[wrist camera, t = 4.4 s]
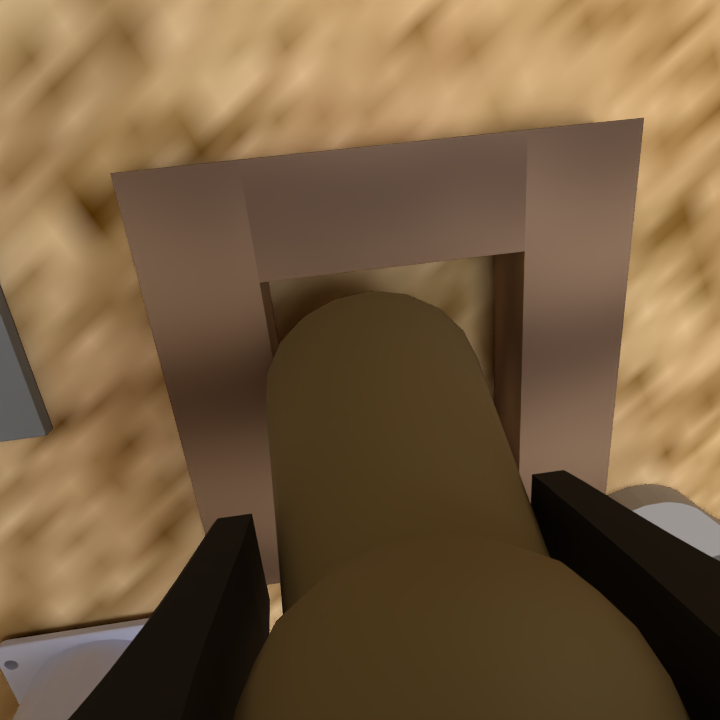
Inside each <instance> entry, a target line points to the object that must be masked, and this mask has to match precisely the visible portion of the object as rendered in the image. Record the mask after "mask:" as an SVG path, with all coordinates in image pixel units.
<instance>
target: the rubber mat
mask: <svg viewBox="0 0 720 720" xmlns="http://www.w3.org/2000/svg"><path fill="white" fill-rule="evenodd" d="M52 429H53V428H52V425H51V423H50V420H49V417H48V414H47V412H46V409H45V406H44V404H43V401H42V398H41V395H40V393H39V390H38V387H37V385H36V382H35V379H34V376H33V374H32V371H31V368H30V365H29V363H28V360H27V357H26V355H25V352H24V349H23V346H22V344H21V341H20V338H19V336H18V333H17V330H16V327H15V325H14V322H13V319H12V317H11V314H10V311H9V308H8V306H7V303H6V300H5V298H4V295H3V292H2V289H1V287H0V442H2V441H9V440H17V439H24V438H32V437H40V436H46V435H47V434H48V433H49V432H50V431H51V430H52Z"/></svg>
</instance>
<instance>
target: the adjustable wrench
mask: <svg viewBox="0 0 720 720" xmlns="http://www.w3.org/2000/svg"><path fill="white" fill-rule="evenodd" d="M609 497H610V498H612V499H614V500H615V501H617V502H619V503H620V504H622V505H623V506H625V507H627V508H628V509H630V510H632V511H633V512H635V513H637V514H638V515H640V516H642V517H643V518H645V519H647V520H648V521H650V522H652V523H653V524H655V525H657V526H658V527H660V528H662V529H663V530H665V531H667V532H669V533H670V534H672V535H674V536H675V537H677V538H679V539H681V540H682V541H684V542H686V543H688V544H689V545H691V546H693V547H695V548H697V549H698V550H700V551H702V552H704V553H705V554H707V555H709V556H711V557H713V558H715V559H717V560H719V561H720V520H719V519H717V518H715V517H713V516H712V515H710V514H709V513H707V512H705V511H704V510H702V509H701V508H700V507H698V506H697V505H696V504H694V503H693V502H692V501H690V500H689V499H688V498H686V497H685V496H684V495H682V494H681V493H680V492H678V491H677V490H674V489H672V488H669V487H665V486H661V485H654V484H645V485H639V486H633V487H628V488H625V489H622V490H620V491H617V492H614V493H612V494H610V495H609Z"/></svg>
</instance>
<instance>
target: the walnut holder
mask: <svg viewBox="0 0 720 720" xmlns="http://www.w3.org/2000/svg"><path fill="white" fill-rule="evenodd" d="M643 123H644V118H637V119H627V120H617V121H607V122H598V123H588V124H578V125H569V126H559V127H550V128H540V129H530V130H521V131H511V132H501V133H492V134H482V135H473V136H463V137H453V138H444V139H434V140H424V141H415V142H405V143H396V144H386V145H376V146H367V147H357V148H348V149H338V150H328V151H319V152H309V153H299V154H290V155H280V156H271V157H261V158H251V159H242V160H232V161H222V162H213V163H203V164H194V165H184V166H174V167H165V168H155V169H146V170H136V171H127V172H117V173H110V174H111V177H112V181H113V185H114V189H115V193H116V196H117V200H118V204H119V208H120V212H121V215H122V219H123V223H124V227H125V231H126V234H127V238H128V242H129V246H130V250H131V253H132V257H133V261H134V265H135V269H136V272H137V276H138V280H139V284H140V288H141V291H142V295H143V299H144V303H145V307H146V310H147V314H148V318H149V322H150V326H151V329H152V333H153V337H154V341H155V345H156V349H157V352H158V356H159V360H160V364H161V368H162V371H163V375H164V379H165V383H166V387H167V390H168V394H169V398H170V402H171V406H172V409H173V413H174V417H175V421H176V425H177V428H178V432H179V436H180V440H181V444H182V447H183V451H184V455H185V459H186V463H187V466H188V470H189V474H190V478H191V482H192V485H193V489H194V493H195V497H196V501H197V504H198V508H199V512H200V516H201V520H202V523H203V527H204V531H205V535H206V534H207V532H208V531H209V529H210V528H211V526H212V525H213V523H214V522H215V521H216V520H217V519H218V518H223V517H231V516H238V515H245V514H252V516H253V521H254V526H255V531H256V536H257V541H258V545H259V550H260V555H261V560H262V565H263V570H264V574H265V579H266V584H267V585H268V584H275V583H280V572H279V560H278V548H277V536H276V523H275V511H274V499H273V487H272V475H271V462H270V450H269V438H268V426H267V414H266V388H267V372H268V370H269V368H270V365H271V363H272V361H273V358H274V356H275V354H276V351H277V349H278V347H279V343H278V337H277V331H276V325H275V319H274V313H273V307H272V301H271V295H270V289H269V283H268V282H269V281H277V280H286V279H294V278H303V277H311V276H320V275H328V274H336V273H345V272H353V271H362V270H370V269H379V268H387V267H396V266H404V265H413V264H421V263H430V262H438V261H446V260H455V259H463V258H472V257H480V256H489V255H495V360H494V405H495V408H496V410H497V413H498V416H499V419H500V421H501V424H502V427H503V430H504V432H505V435H506V438H507V440H508V443H509V446H510V449H511V451H512V454H513V457H514V460H515V462H516V465H517V468H518V471H519V473H520V476H521V479H522V481H523V484H524V487H525V490H526V492H527V495H528V498H529V501H530V503H531V486H532V474H539V473H546V472H553V471H560V470H565V471H567V472H569V473H570V474H572V475H574V476H576V477H577V478H579V479H581V480H582V481H584V482H586V483H587V484H589V485H591V486H592V487H594V488H596V489H597V490H599V491H601V492H602V493H604V494H606V485H607V476H608V466H609V456H610V446H611V436H612V427H613V417H614V407H615V397H616V387H617V378H618V368H619V358H620V348H621V338H622V329H623V319H624V309H625V299H626V289H627V280H628V270H629V260H630V250H631V240H632V230H633V221H634V211H635V201H636V191H637V181H638V172H639V162H640V152H641V142H642V132H643Z"/></svg>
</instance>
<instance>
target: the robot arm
mask: <svg viewBox="0 0 720 720" xmlns="http://www.w3.org/2000/svg"><path fill="white" fill-rule="evenodd" d="M531 506H532V509H533V512H534V514H535V517H536V520H537V522H538V525H539V528H540V531H541V533H542V536H543V539H544V542H545V544H546V547H547V550H548V553H549V555H550V558H552V559H555V560H558V561H561V562H562V563H563V564H565V565H566V566H567V567H568V568H570V569H571V570H572V571H574V572H575V573H576V574H577V575H579V576H580V577H581V578H583V579H584V580H585V581H586V582H588V583H589V584H590V585H592V586H593V587H594V588H595V589H597V590H598V591H599V592H600V593H601V594H602V595H603V596H604V597H605V598H607V599H608V600H609V601H610V602H611V603H612V604H613V605H614V606H615V607H616V608H617V609H618V610H619V611H620V612H621V613H622V614H623V615H624V616H626V617H627V618H628V619H629V620H630V621H631V622H632V623H633V624H634V625H635V626H636V627H637V628H638V630H639V631H640V633H641V634H642V636H643V637H644V639H645V640H646V642H647V643H648V645H649V646H650V647H651V649H652V650H653V652H654V653H655V655H656V656H657V658H658V659H659V661H660V662H661V664H662V665H663V667H664V668H665V670H666V671H667V673H668V674H669V676H670V677H671V679H672V681H673V684H674V686H675V688H676V690H677V692H678V694H679V696H680V698H681V700H682V703H683V705H684V707H685V709H686V711H687V713H688V715H689V717H690V719H691V720H720V561H719V560H717V559H715V558H713V557H711V556H709V555H707V554H705V553H704V552H702V551H700V550H698V549H697V548H695V547H693V546H691V545H689V544H688V543H686V542H684V541H682V540H681V539H679V538H677V537H675V536H674V535H672V534H670V533H669V532H667V531H665V530H663V529H662V528H660V527H658V526H657V525H655V524H653V523H652V522H650V521H648V520H647V519H645V518H643V517H642V516H640V515H638V514H637V513H635V512H633V511H632V510H630V509H628V508H627V507H625V506H623V505H622V504H620V503H619V502H617V501H615V500H614V499H612V498H610V497H609V496H607V495H606V494H604V493H602V492H601V491H599V490H597V489H596V488H594V487H592V486H591V485H589V484H587V483H586V482H584V481H582V480H581V479H579V478H577V477H576V476H574V475H572V474H570V473H569V472H567V471H565V470H560V471H553V472H546V473H539V474H532V486H531ZM269 618H270V599H269V594H268V589H267V584H266V579H265V574H264V570H263V565H262V560H261V555H260V550H259V545H258V541H257V536H256V531H255V526H254V521H253V516H252V514H245V515H238V516H231V517H223V518H218V519H217V520H216V521H215V522H214V523H213V525H212V526H211V528H210V529H209V531H208V532H207V534H206V535H205V537H204V539H203V540H202V542H201V543H200V545H199V546H198V548H197V550H196V551H195V553H194V554H193V556H192V557H191V559H190V560H189V562H188V563H187V565H186V566H185V568H184V569H183V571H182V572H181V574H180V575H179V577H178V578H177V580H176V581H175V583H174V584H173V585H172V587H171V588H170V590H169V591H168V593H167V594H166V595H165V597H164V598H163V600H162V601H161V602H160V604H159V605H158V607H157V608H156V610H155V611H154V612H153V614H152V615H151V617H150V618H146V619H140V620H133V621H127V622H120V623H114V624H107V625H101V626H94V627H88V628H81V629H75V630H68V631H62V632H56V633H49V634H43V635H36V636H30V637H23V638H17V639H10V640H6V641H3V642H1V643H0V668H1V670H2V672H3V674H4V676H5V678H6V680H7V682H8V684H9V686H10V688H11V690H12V692H13V694H14V696H15V697H16V699H17V701H18V703H19V707H18V709H17V711H16V713H15V715H14V717H13V719H12V720H233V718H234V712H235V709H236V707H237V704H238V702H239V699H240V697H241V694H242V692H243V689H244V687H245V684H246V682H247V679H248V677H249V674H250V672H251V669H252V667H253V664H254V662H255V660H256V658H257V656H258V655H259V653H260V651H261V649H262V647H263V645H264V643H265V641H266V639H267V638H268V636H269Z"/></svg>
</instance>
